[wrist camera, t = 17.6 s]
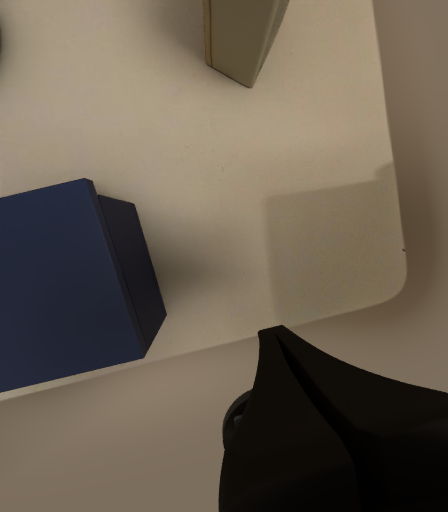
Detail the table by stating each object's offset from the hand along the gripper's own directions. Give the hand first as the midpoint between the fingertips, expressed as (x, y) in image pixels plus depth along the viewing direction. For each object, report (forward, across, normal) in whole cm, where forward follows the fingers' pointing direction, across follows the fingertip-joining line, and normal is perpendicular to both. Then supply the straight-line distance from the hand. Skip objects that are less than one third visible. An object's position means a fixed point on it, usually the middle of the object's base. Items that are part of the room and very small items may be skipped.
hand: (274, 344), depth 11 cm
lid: (+4, +14, -5) cm, 15 cm away
